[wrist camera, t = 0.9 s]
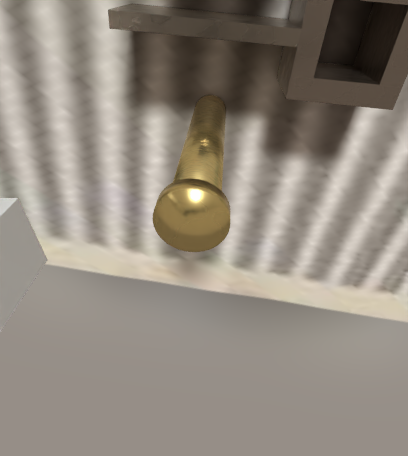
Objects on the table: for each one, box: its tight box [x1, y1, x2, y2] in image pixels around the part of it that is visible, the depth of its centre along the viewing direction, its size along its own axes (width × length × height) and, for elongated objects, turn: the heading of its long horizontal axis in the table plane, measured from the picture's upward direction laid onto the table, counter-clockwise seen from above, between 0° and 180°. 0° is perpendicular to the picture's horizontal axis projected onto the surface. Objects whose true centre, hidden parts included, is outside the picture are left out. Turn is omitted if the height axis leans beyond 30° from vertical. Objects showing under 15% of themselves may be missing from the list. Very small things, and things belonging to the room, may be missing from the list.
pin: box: [153, 95, 230, 252], centre depth 23 cm, size 4×4×17 cm
